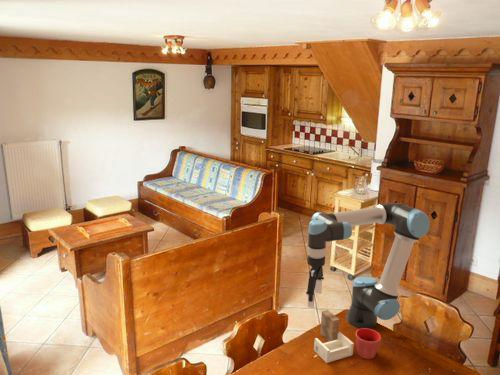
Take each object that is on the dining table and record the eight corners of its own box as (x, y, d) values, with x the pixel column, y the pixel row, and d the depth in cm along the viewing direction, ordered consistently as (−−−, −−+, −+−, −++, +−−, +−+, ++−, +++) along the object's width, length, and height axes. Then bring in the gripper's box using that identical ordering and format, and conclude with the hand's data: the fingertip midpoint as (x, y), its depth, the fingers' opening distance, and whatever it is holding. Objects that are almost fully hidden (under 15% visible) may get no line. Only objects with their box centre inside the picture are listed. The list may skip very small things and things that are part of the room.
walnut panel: (320, 333, 211) (321, 311, 208) (326, 332, 212) (328, 310, 209) (331, 343, 203) (333, 320, 200) (337, 342, 204) (339, 319, 201)
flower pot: (379, 362, 190) (382, 343, 188) (354, 359, 192) (356, 339, 190) (377, 348, 200) (380, 329, 198) (353, 345, 202) (355, 326, 200)
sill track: (339, 343, 203) (340, 331, 202) (352, 355, 195) (353, 343, 193) (313, 350, 198) (314, 338, 196) (326, 363, 189) (327, 350, 187)
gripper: (314, 244, 200) (313, 286, 206) (300, 265, 178) (298, 311, 183) (331, 246, 198) (328, 288, 203) (318, 268, 175) (316, 315, 180)
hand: (314, 299), depth 193 cm, fingers open, 13 cm apart
